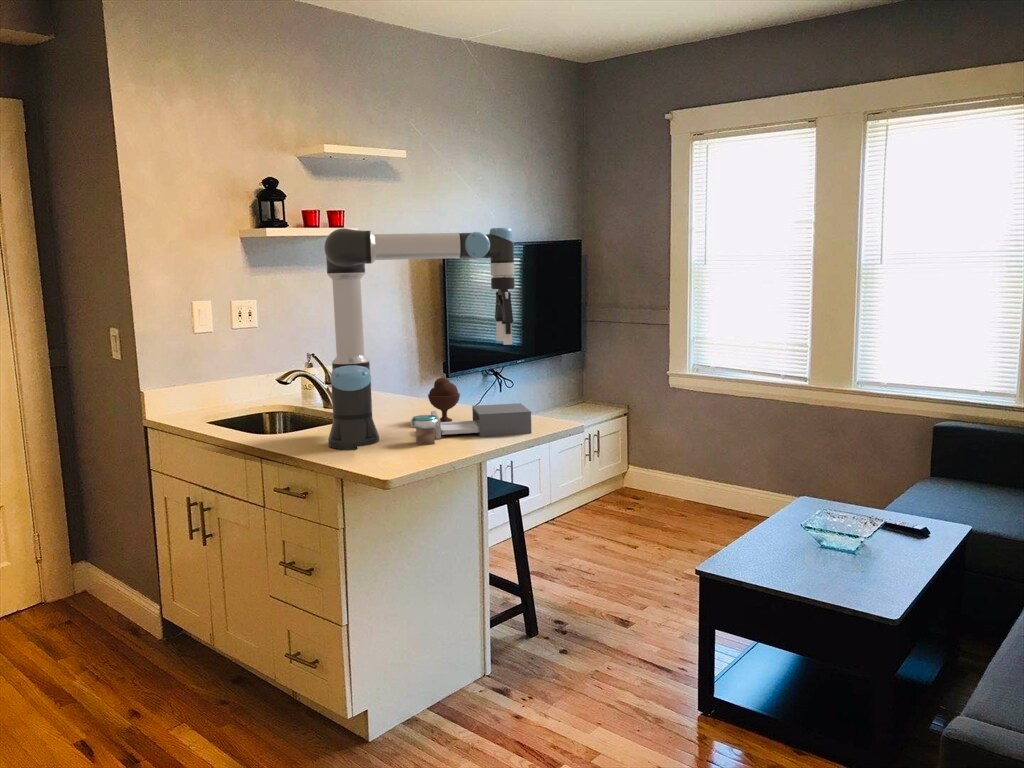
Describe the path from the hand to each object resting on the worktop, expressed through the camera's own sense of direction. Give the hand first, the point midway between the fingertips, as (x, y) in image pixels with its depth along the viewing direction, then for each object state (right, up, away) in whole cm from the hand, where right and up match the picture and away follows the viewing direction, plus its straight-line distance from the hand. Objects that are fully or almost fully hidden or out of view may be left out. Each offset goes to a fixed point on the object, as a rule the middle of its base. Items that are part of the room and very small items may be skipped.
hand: (504, 342), depth 268 cm
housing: (-1, -28, -5) cm, 29 cm away
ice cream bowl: (-20, -26, +12) cm, 35 cm away
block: (-23, -31, -22) cm, 44 cm away
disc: (-23, -26, -23) cm, 42 cm away
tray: (-14, -29, -8) cm, 33 cm away
